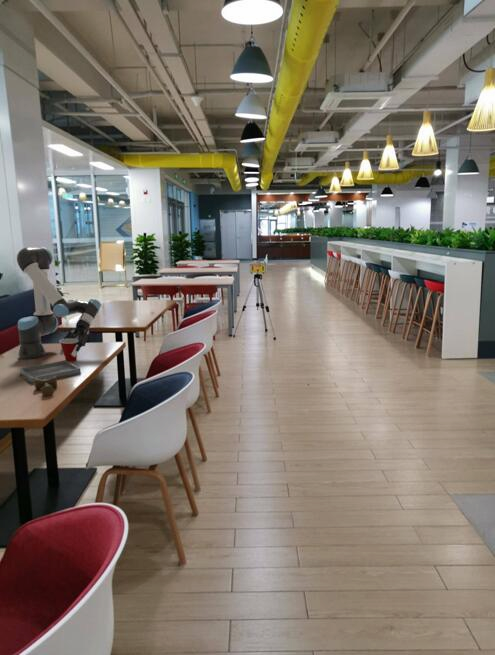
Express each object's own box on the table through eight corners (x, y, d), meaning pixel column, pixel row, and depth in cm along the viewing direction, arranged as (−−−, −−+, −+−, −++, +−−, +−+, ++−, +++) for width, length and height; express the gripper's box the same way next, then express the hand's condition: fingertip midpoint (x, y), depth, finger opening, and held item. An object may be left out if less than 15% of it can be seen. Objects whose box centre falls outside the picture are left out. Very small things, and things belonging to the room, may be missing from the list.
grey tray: (20, 374, 263) (19, 368, 263) (66, 365, 277) (65, 360, 277) (32, 383, 244) (31, 378, 244) (80, 373, 258) (80, 368, 258)
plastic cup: (75, 363, 282) (72, 342, 279) (57, 362, 284) (55, 342, 281) (85, 358, 292) (83, 337, 290) (68, 357, 294) (66, 337, 292)
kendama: (37, 399, 222) (34, 386, 240) (60, 396, 226) (56, 383, 244) (35, 386, 221) (33, 374, 238) (58, 383, 225) (55, 372, 242)
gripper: (102, 327, 293) (84, 360, 282) (75, 325, 303) (57, 356, 292) (94, 319, 287) (76, 353, 276) (67, 318, 297) (48, 350, 287)
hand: (66, 355), depth 284 cm, fingers closed on plastic cup, 9 cm apart
